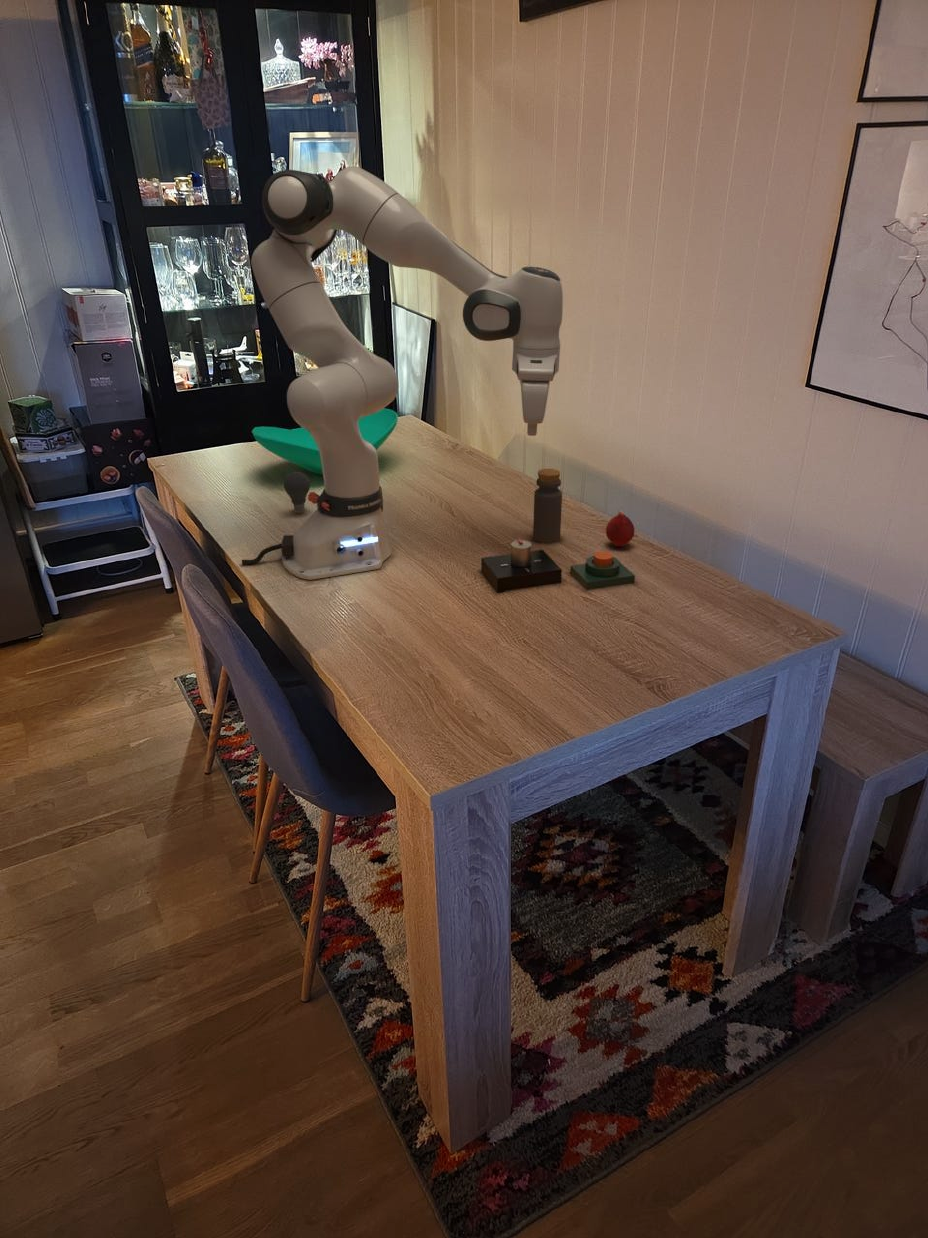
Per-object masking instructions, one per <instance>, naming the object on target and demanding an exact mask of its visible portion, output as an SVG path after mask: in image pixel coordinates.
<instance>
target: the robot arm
mask: <svg viewBox="0 0 928 1238" xmlns="http://www.w3.org/2000/svg"><path fill="white" fill-rule="evenodd" d="M261 199H262V200H261V201H262V203H261V204H262V209H263V211H264V215H265V217H266V219H267V221H268V222H269V224H270V226H272V227H273V228H274V229H272V233H271V234H270V236H269V237H268V239H266V240H264V241H262V242H260V244H258V245H257V246H256V248H255V249H254V251H253V253H252V255H251V267H252V271H253V275H254V278H255V281H256V284H257V287H258V289H259V291H260V294H261V296H262V299H263V300H264V303H265V305H266V307H267V309H268V311H269V313H270V315H271V316H272V318H273V321H274V322H275V324H276V326H277V329H278V330H279V332H280V334H281V336H282V337H283V339H284V341H285V344H286V345H287V347H288V348H289V349H290V350H291V351H292V352H294V353H295V354H297V355H299V356H301V357H304V358H305V359H307V360H309V361H310V362H311V363H313V365H315V367H317V368H313V369H310V370H308V371H307V372H305V373H304V374H301V375H300V376H299V377H297V378H295V379H294V380H293V381H291V383H290V384H289V386H288V388H287V392H286V404H287V408H288V411H289V413H290V416H291V417H292V419H293V420H294V422H295V423H296V424H298V426H300V428H304V429H306V430H307V431H308V432H309V433H310V434H311V435H312V437H313V439H314V441H315V442H316V445H317V447H318V450H319V453H320V457H321V463H322V471H323V475H322V479H323V487H324V488H323V490H322V492H321V494H318V493H316V492H315V491H309V492H308V494H307V500H308V501H309V502H311V504H316V508H317V509H316V510H315V511H314V512H313V513H312V514H311V515H310V516H309V517H308V518H307V519H305V521H304V522H303V523H302V524H301V525H299V526H298V527H297V528H296V529H295V530H294V532H293V534H287V535H285V534H284V535H283V538H282V541H281V543H277V544H274V545H270V546H268V547H266V548H264V549H262V550H261V551H260V552H259V554H257V557H255V558H253V559H241V565H256V564H258V563H260V562H261V561H262V559H263V557H265V555H267V554H268V553H270V552H273V551H277V550H280V551H281V558H282V559H281V563H282V566H283V567H284V569H286V571H288V572H289V573H290V574H292V575H293V576H295V577H297V578H300V579H303V580H309V581H310V580H311V581H312V580H318V579H319V580H320V579H324V578H330V577H336V576H343V575H350V574H355V573H362V572H367V571H368V572H369V571H372V570H373V571H375V570H379V569H381V568H382V565H383V563H384V562H385V561H386V560H387V559H388V558H389V557H390V556H391V554H392V548H391V546H390V542H389V540H388V536H387V532H386V529H385V523H384V516H383V511H384V497H383V489H382V486H381V485H380V472H379V455H378V451H377V450H376V449H375V447H374V446H373V445H372V444H370V443H369V442H367V441H365V440H363V438H362V436H361V433H360V430H359V426H358V420H359V418H362V417H365V416H368V415H371V414H374V413H377V412H379V411H380V410H382V409H383V408H386V407H387V406H388V405H390V404H391V403H392V402H393V401H394V400H395V399H396V397H397V395H398V392H399V378H398V375H397V372H396V370H395V368H394V367H393V365H392V364H391V363H390V362H389V361H388V360H387V359H384V358H383V357H380V356H378V355H377V354H375V353H374V352H372V351H371V350H369V349H368V348H367V347H365V345H364V344H363V343H362V342H361V341H360V340H359V339H357V338H356V336H355V335H354V334H353V333H352V332H351V331H350V330H349V328H348V327H347V326H346V325H345V323H344V322H343V320H342V319H341V317H340V315H339V313H338V312H337V310H336V308H335V306H334V304H333V303H332V301H331V299H330V297H329V295H328V293H327V292H326V290H325V288H324V286H323V284H322V282H321V280H320V277H318V274H317V272H316V270H315V268H314V266H313V262H315V261H316V260H317V259H318V258H319V257H320V256H321V255H322V253H323V252H325V251H326V250H327V249H328V248H330V246H331V245H332V244H333V243H334V241H335V240H336V237H337V235H338V231H343V232H345V233H347V234H349V235H351V236H352V237H353V238H355V239H356V240H357V241H358V242H359V243H360V244H361V245H363V246H364V247H365V248H366V249H367V250H368V251H370V252H371V253H372V254H373V255H375V256H376V257H377V258H379V259H381V260H382V261H385V262H386V263H388V264H390V265H392V266H394V267H397V268H408V269H419V270H424V271H428V272H431V273H434V274H436V275H438V276H440V277H442V278H443V279H444V280H446V281H447V282H448V283H450V284H451V285H453V286H454V287H455V288H456V289H458V290H459V291H461V293H463V294H464V295H466V296H467V298H466V300H465V302H464V304H463V307H462V320H463V324H464V326H465V329H466V330H467V332H468V333H469V334H470V335H471V336H472V337H474V338H475V339H477V340H480V341H483V342H495V341H500V340H506V339H511V340H512V357H511V358H512V361H511V370H512V371H513V372H514V373H515V375H516V377H517V380H518V381H519V383H520V393H521V394H520V395H521V412H522V420H523V423H525V424H527V427H526V428H527V429H526V430H527V431H526V433H527V436H530V437H536V436H537V434H538V424H540V425H541V424H543V422H544V420H545V415H546V411H547V403H548V398H549V392H550V391H549V390H550V387H551V382H553V381H554V378H555V375H556V374H557V373H559V372H560V362H561V361H560V360H561V347H562V345H561V343H562V342H561V339H560V330H561V327H562V323H563V317H564V316H563V315H564V291H563V288H564V287H563V283H562V280H561V277H559V275H558V274H557V273H555V271H552V270H550V269H547V268H543V267H538V266H524V267H521V268H520V269H519V270H518V271H516V272H515V273H513V274H511V275H510V276H506V275H502V274H499V273H496V272H495V271H493V270H491V269H490V268H489V267H487V266H485V265H484V264H483V263H482V262H480V261H479V260H478V259H477V258H475V257H474V256H472V255H471V254H470V253H469V252H467V251H466V250H465V249H464V248H462V247H461V246H459V245H458V244H457V243H455V242H454V241H452V240H451V239H450V238H449V237H448V236H447V235H446V234H444V233H443V232H442V230H440V229H439V228H438V227H437V226H435V225H434V224H433V223H432V222H431V221H430V220H429V219H428V218H427V217H426V216H425V215H424V214H423V213H422V212H420V210H418V209H417V208H416V207H415V206H414V205H413V203H411V202H410V201H409V200H408V199H407V198H406V197H404V196H403V195H402V194H400V193H399V192H398V191H397V190H395V189H394V187H392V186H390V185H389V184H388V183H387V182H385V181H384V180H382V179H381V178H379V177H378V176H376V175H374V174H372V173H371V172H369V171H367V170H365V169H363V168H361V167H359V166H355V165H352V166H351V165H350V166H347V167H344V168H343V169H341V170H339V171H338V173H336V174H335V175H334V177H333V178H332V179H331V180H330V181H328V180H327V178H326V177H325V176H324V175H323V174H317V173H311V172H305V171H301V170H295V169H284V170H280V171H277V172H275V173H274V174H272V175H271V176H270V177H269V178H268V179H267V181H266V183H265V185H264V187H263V190H262V197H261Z"/></svg>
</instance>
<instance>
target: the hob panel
mask: <svg viewBox="0 0 928 1238" xmlns="http://www.w3.org/2000/svg"><path fill="white" fill-rule="evenodd" d="M480 563H481V564H480V566H481V567H480V571H481V573H482V574H483V575H484V577H485V578H486V580H487V581H488V583H490V585H491V586H492V588H493V589H494V590H495V591H496V593H503V592H508V591H517V590H522V589H528V588H536V587H542V586H549V585H556V584H561V583H562V573H563V569H562V568H561V566H559V565H558V563H556V561H555V560H553V559H552V557H550V556H549V554H547V552H546V551H545V550H544V549H537V550H532V554H531V565H530V566H527V567H515V566H513V565H511V553H508V554H507V553H506V554H500V555H492V556H485V557H481V560H480Z"/></svg>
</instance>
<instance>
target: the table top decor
mask: <svg viewBox="0 0 928 1238" xmlns="http://www.w3.org/2000/svg"><path fill="white" fill-rule="evenodd" d="M398 420H399V414H398V413H397V412H396V411H395V410H393V409H389V408H386V407H384V408H383V409H382V410H380V411H379V412H377V413H374V414H371V415H368V416H365V417H362V418H359V420H358V426H359V430H360V433H361V436H362V438H363V440H365V441H367V442H369V443H370V444H372V445H373V446H374V447H375V449H376V451H377V450H378V449H379V448H380V447H381V446H382V445H383V444H384V443H385V442H386V440H388V438H389V437H390V435H391V434H392V433H393V432H394V430H395V428H396V426H397V423H398ZM251 433H252V435H253V437H254V439H255V440H256V442H257V443H258V444H259V445H260V446H262V447H263V448H264V449H265V450H266V451H268V452H271V453H272V454H274V455H276V456H277V457H279V458H282V459H284V460H286V461H288V462H290V463H291V464H294V465H296V466H298V467H300V468H303V469H306V470H307V471H309V472H311V473H313V474H316V475H320V476H323V471H322V463H321V457H320V453H319V450H318V447H317V445H316V442H315V441H314V439H313V437H312V435H311V434H310V433H309V432H308V431H307V430H306V429H304V428H303V427H298V428H292V429H287V428H281V427H276V426H256V427H254V428H253V429H252V430H251Z"/></svg>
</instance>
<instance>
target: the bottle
mask: <svg viewBox="0 0 928 1238" xmlns="http://www.w3.org/2000/svg"><path fill="white" fill-rule="evenodd" d="M537 476H538V477H537V479H536V481H535V482H536V483H535V484H536V486H537V487H538V488H537V489H535V490H534V495H533V523H532V524H533V525H532V539H533V541H535V542H536V543H540V544H554V543H557V542H559V541H560V540H561V530H562V529H561V527H562V526H561V525H562V506H563V504H562V503H563V492H562V490H561V489H559V487H561V485H562V479H561V478H560V476H561V471H560V470H559V469H556V468H541V469H538V471H537Z"/></svg>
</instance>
